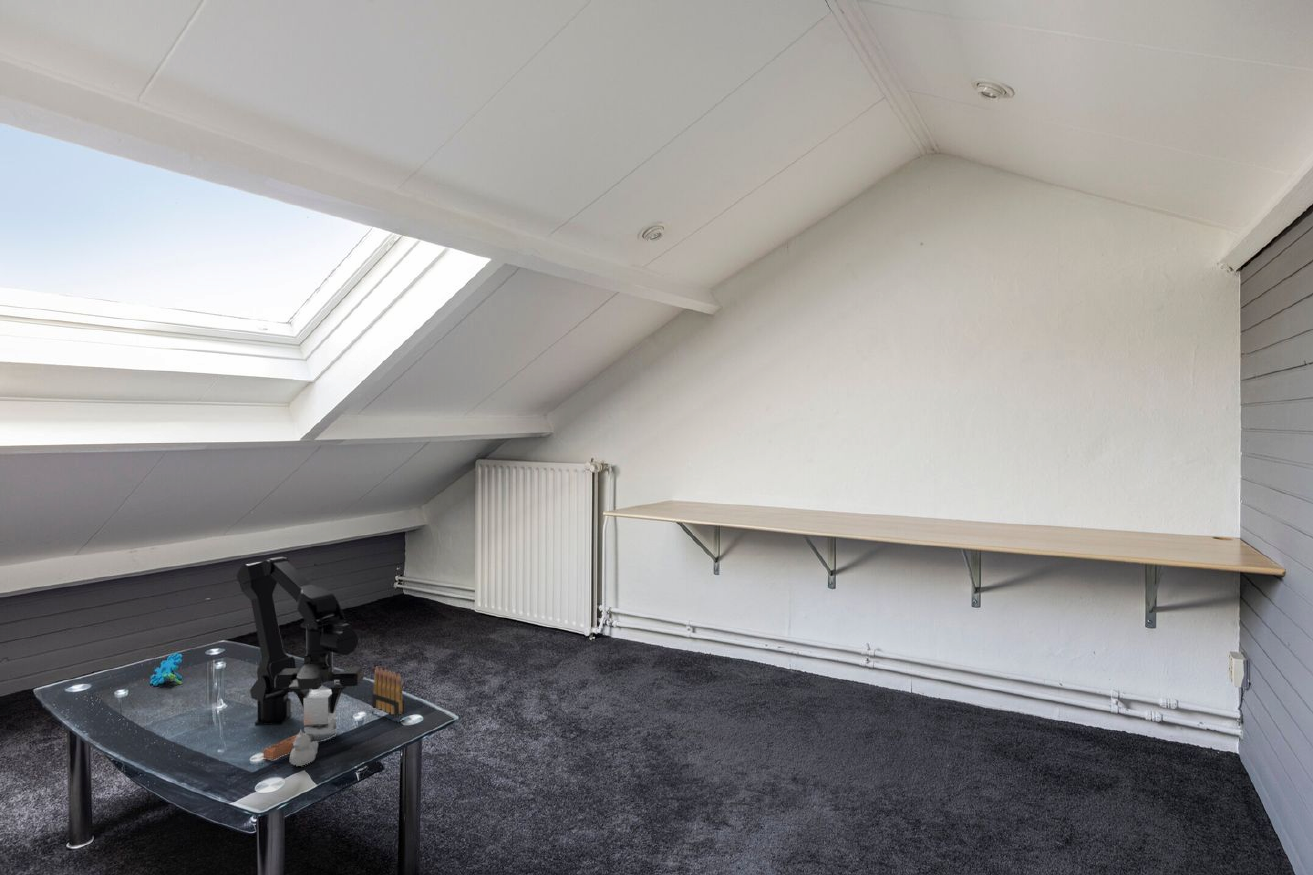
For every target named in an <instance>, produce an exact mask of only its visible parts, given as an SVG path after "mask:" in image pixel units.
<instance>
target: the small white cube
mask: <svg viewBox="0 0 1313 875" xmlns="http://www.w3.org/2000/svg"><path fill="white" fill-rule="evenodd" d="M331 700H332V691H331V688H330V689H329V688H327V689H316V690H313V689H310V692H309V693H308V694H307V695H306V696H305V697H304V698H303V701H304V709H303V725H311V724H329V723H330V721H331V720H332V719H335V717H336V716H337V708H336V709H335V712H334V713H333V714H332V713H331Z"/></svg>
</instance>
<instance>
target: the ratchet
mask: <svg viewBox="0 0 1313 875" xmlns="http://www.w3.org/2000/svg"><path fill="white" fill-rule="evenodd" d="M303 725H304V724H303ZM304 733H306V734H307V735H308V736H309V737H310V743H311V742H313V741H314V742H315V741H321V740H324V739H327V738H329V737H331V736H333V735H335V734H336V735H337V719H335V718H333V719H332V720H331V721H330V723H329V724H311V725H304V726H303V734H304ZM298 734H299V733H297V734H295V735H292V736H290V737H288V738H285V739H283V740H281V741H278V742H276V743H275V744H272V745H270V746H268V747H265V748H263V752H262V754H263V757H262V758H266V759H271V760H274V759H276V758H278V757H280V756H282V755H285V754H288V753H290V752H291V751H292V749H293V748H294V745H293V743H294V740H295V738H296V737H297V735H298Z"/></svg>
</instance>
